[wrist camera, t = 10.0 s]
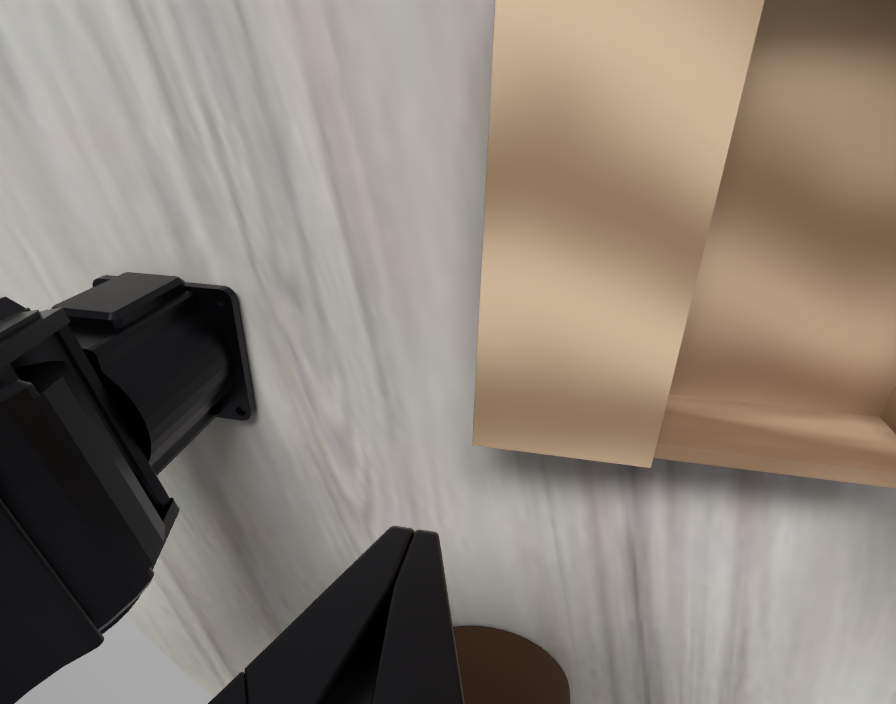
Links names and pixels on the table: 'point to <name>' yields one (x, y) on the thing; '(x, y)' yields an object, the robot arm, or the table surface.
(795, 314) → the wooden box
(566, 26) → the flap
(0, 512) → the robot arm
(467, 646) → the olive oil
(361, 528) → the table surface
